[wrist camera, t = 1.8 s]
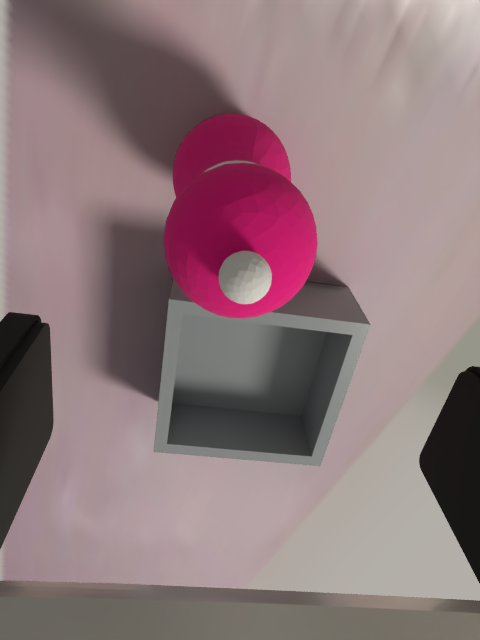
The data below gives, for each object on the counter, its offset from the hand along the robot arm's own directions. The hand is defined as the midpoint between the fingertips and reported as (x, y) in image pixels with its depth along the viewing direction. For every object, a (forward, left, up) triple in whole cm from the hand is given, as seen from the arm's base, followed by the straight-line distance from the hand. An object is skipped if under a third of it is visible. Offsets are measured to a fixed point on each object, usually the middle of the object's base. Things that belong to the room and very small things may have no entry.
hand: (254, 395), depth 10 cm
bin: (+15, +4, -25) cm, 29 cm away
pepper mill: (0, 0, -25) cm, 25 cm away
